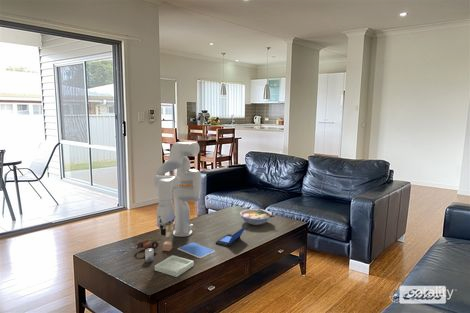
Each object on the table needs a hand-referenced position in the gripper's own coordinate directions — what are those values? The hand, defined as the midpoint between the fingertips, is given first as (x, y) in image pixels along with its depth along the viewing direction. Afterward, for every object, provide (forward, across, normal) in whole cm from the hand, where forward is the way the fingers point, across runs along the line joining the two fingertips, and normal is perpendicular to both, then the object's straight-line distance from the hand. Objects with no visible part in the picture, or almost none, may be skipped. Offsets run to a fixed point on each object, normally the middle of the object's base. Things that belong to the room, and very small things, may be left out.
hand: (166, 233), depth 182 cm
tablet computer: (+14, -14, +10) cm, 22 cm away
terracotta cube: (+14, -7, -6) cm, 16 cm away
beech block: (+1, 0, 0) cm, 1 cm away
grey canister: (+13, +9, -5) cm, 17 cm away
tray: (+13, +9, +12) cm, 20 cm away
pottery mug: (+14, +2, -13) cm, 19 cm away
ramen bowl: (+15, -73, +19) cm, 77 cm away
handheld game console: (+15, -35, +21) cm, 43 cm away
